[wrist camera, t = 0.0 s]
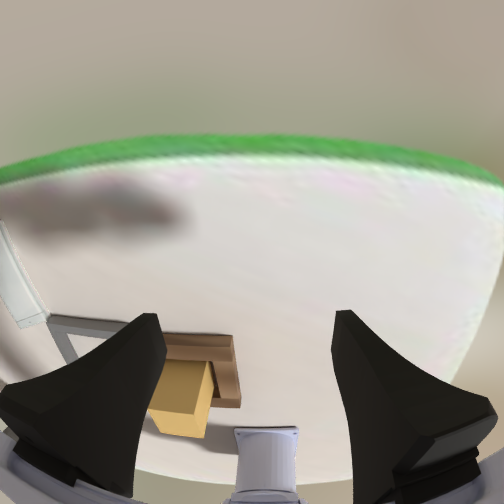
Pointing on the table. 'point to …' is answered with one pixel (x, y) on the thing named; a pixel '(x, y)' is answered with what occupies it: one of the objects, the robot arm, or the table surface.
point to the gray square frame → (79, 332)
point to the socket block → (210, 350)
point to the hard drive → (18, 286)
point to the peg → (183, 398)
